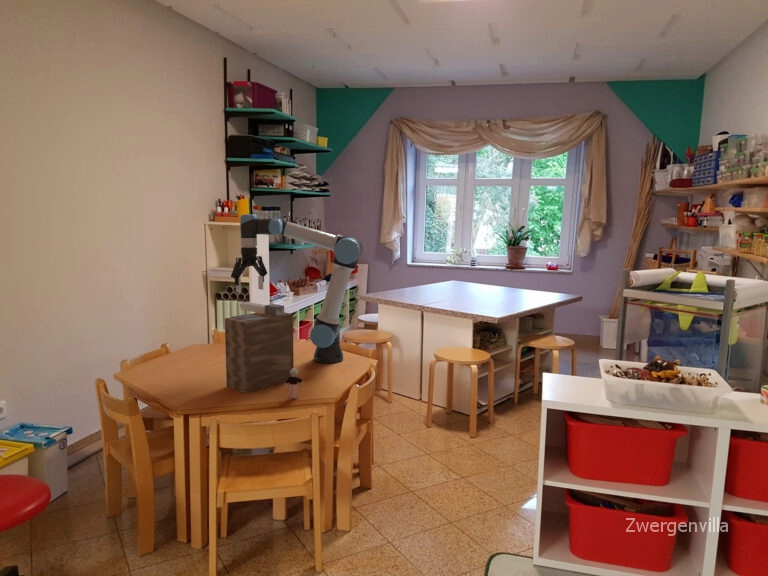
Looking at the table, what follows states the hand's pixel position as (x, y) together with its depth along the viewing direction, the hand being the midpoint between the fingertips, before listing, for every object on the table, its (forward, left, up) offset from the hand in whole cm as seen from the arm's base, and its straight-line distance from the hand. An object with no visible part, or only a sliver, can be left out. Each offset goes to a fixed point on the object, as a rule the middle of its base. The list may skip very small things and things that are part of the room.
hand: (249, 290), depth 269 cm
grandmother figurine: (-22, +52, -37) cm, 67 cm away
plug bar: (-7, +22, -7) cm, 24 cm away
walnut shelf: (-7, +30, -37) cm, 48 cm away
